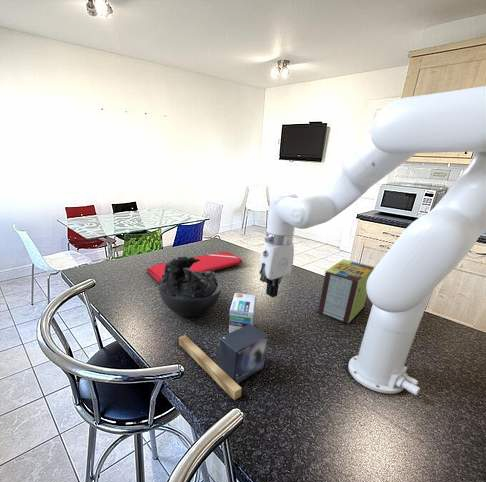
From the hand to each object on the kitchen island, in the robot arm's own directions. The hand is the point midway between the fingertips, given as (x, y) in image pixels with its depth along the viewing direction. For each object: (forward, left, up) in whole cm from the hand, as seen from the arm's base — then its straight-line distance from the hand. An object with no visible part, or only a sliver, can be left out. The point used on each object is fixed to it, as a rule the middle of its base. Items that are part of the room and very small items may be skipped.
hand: (271, 295), depth 90 cm
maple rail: (-6, +29, -9) cm, 31 cm away
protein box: (-9, -26, -10) cm, 29 cm away
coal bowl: (+19, +18, -10) cm, 28 cm away
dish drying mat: (+49, -4, -10) cm, 50 cm away
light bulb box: (0, +12, -10) cm, 15 cm away
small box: (-12, +22, -10) cm, 27 cm away
